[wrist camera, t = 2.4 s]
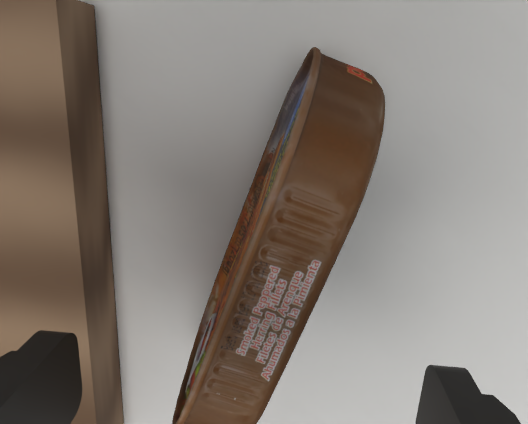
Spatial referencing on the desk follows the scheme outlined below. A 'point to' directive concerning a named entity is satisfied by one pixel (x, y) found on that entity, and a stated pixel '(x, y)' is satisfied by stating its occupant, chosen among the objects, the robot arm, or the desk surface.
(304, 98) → the tin
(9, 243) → the walnut riser
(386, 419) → the desk surface
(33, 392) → the robot arm
